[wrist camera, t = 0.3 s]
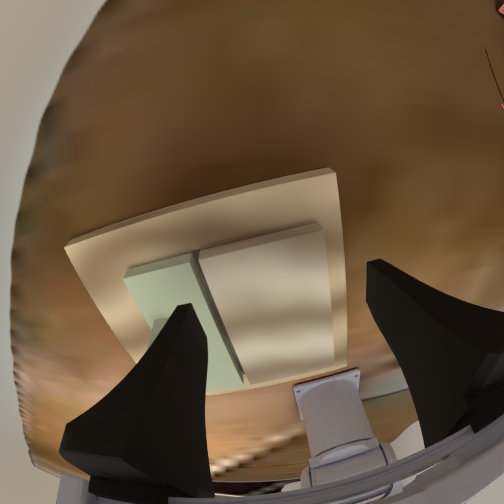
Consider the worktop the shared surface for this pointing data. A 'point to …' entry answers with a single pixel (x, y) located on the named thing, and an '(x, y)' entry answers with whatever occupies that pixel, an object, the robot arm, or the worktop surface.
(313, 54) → the worktop surface
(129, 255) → the board
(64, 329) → the worktop surface
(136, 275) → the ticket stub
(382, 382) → the worktop surface
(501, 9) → the figurine
